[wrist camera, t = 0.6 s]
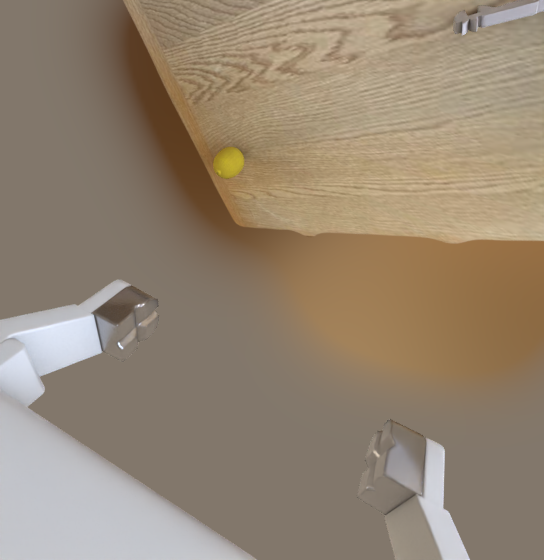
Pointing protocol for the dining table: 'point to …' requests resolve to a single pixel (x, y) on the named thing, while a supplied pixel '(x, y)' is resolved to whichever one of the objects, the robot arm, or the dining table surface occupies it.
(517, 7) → the caliper
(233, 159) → the lemon
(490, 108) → the dining table surface
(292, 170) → the dining table surface
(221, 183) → the dining table surface
